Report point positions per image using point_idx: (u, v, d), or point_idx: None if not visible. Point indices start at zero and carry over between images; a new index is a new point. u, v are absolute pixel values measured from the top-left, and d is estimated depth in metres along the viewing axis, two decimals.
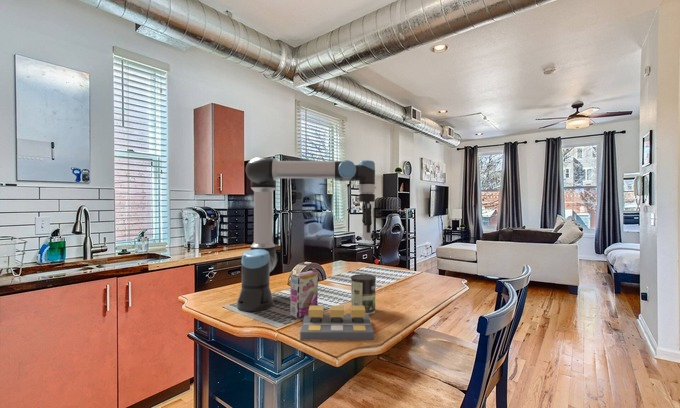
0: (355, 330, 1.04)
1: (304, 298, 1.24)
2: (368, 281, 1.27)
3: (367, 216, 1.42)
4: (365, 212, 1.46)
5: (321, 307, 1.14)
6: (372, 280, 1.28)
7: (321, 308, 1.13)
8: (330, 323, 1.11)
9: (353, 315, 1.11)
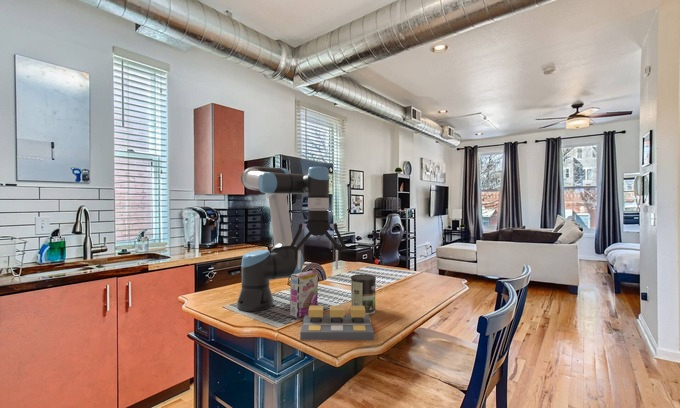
0: (355, 330, 1.04)
1: (304, 298, 1.24)
2: (368, 281, 1.27)
3: None
4: None
5: (321, 307, 1.14)
6: (372, 280, 1.28)
7: (321, 308, 1.13)
8: (330, 323, 1.11)
9: (353, 315, 1.11)
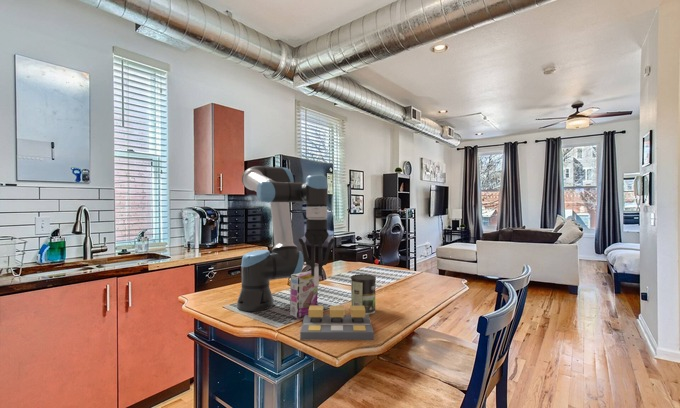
0: (355, 330, 1.04)
1: (304, 298, 1.24)
2: (368, 281, 1.27)
3: None
4: None
5: (321, 307, 1.14)
6: (372, 280, 1.28)
7: (321, 308, 1.13)
8: (330, 323, 1.11)
9: (353, 315, 1.11)
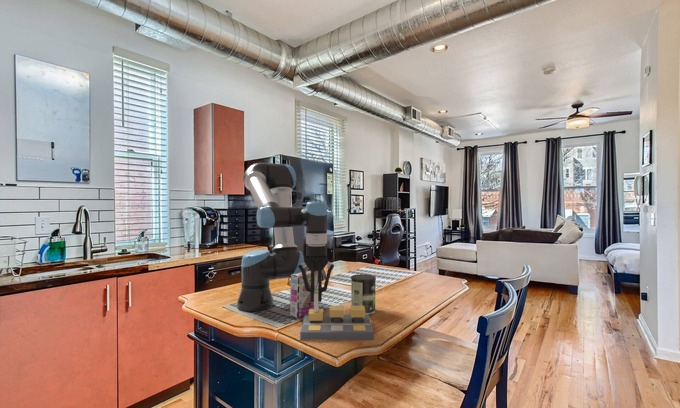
0: (355, 330, 1.04)
1: (304, 298, 1.24)
2: (368, 281, 1.27)
3: None
4: None
5: (321, 310, 1.14)
6: (372, 280, 1.28)
7: (321, 311, 1.13)
8: (330, 323, 1.11)
9: (353, 315, 1.11)
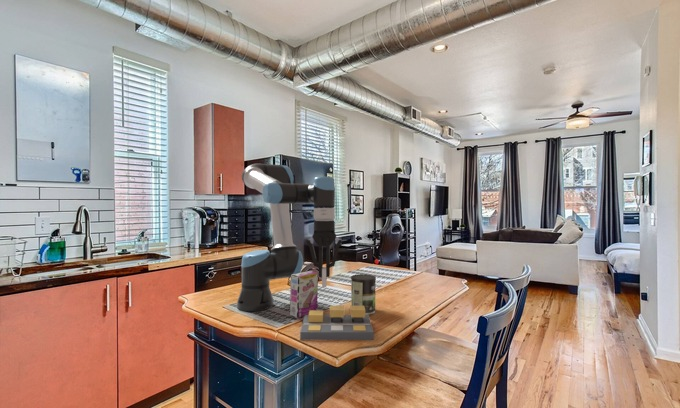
0: (355, 330, 1.04)
1: (304, 298, 1.24)
2: (368, 281, 1.27)
3: None
4: None
5: (321, 312, 1.14)
6: (372, 280, 1.28)
7: (321, 313, 1.13)
8: (330, 323, 1.11)
9: (353, 315, 1.11)
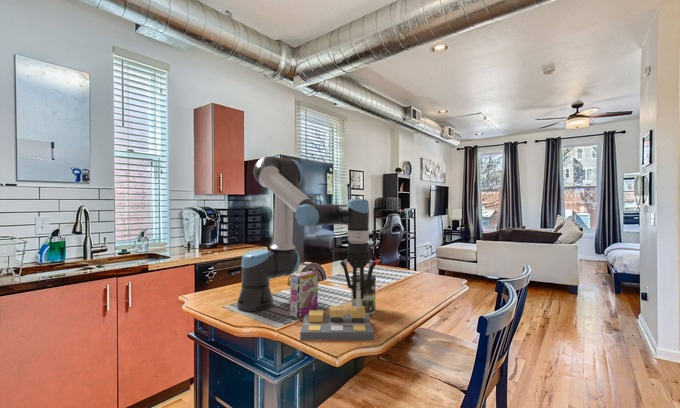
0: (355, 330, 1.04)
1: (304, 298, 1.24)
2: None
3: None
4: None
5: (321, 312, 1.14)
6: (372, 280, 1.28)
7: (321, 313, 1.13)
8: (330, 323, 1.11)
9: (353, 315, 1.11)
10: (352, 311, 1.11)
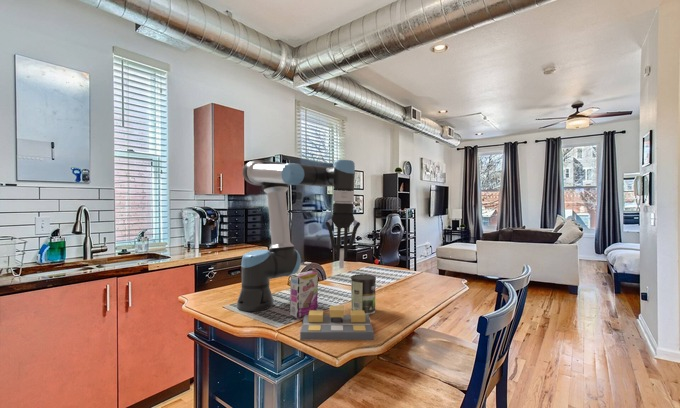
0: (355, 330, 1.04)
1: (304, 298, 1.24)
2: (368, 281, 1.27)
3: None
4: None
5: (321, 312, 1.14)
6: (372, 280, 1.28)
7: (321, 313, 1.13)
8: (330, 323, 1.11)
9: (353, 320, 1.11)
10: (352, 316, 1.11)
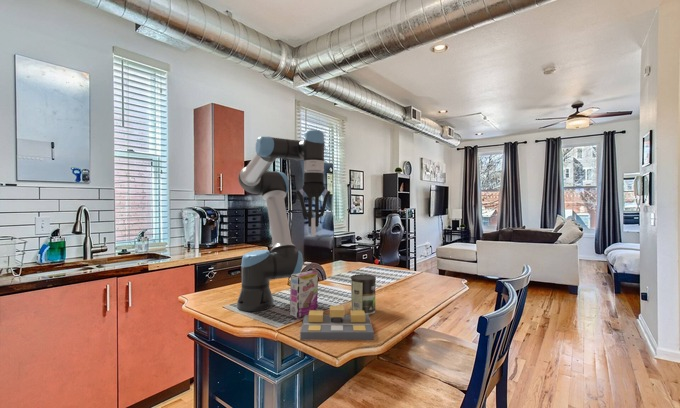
0: (355, 330, 1.04)
1: (304, 298, 1.24)
2: (368, 281, 1.27)
3: None
4: None
5: (321, 312, 1.14)
6: (372, 280, 1.28)
7: (321, 313, 1.13)
8: (330, 323, 1.11)
9: (353, 320, 1.11)
10: (352, 316, 1.11)
